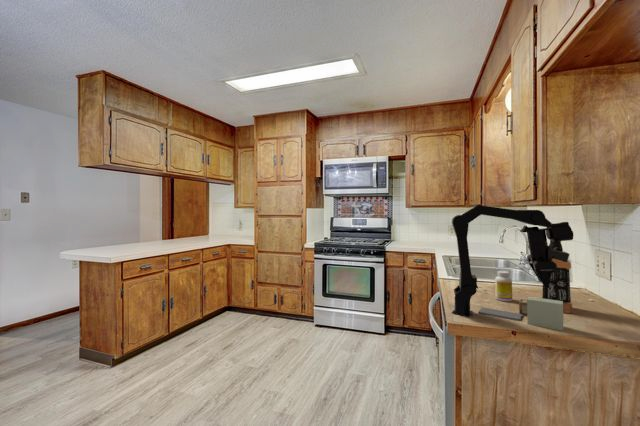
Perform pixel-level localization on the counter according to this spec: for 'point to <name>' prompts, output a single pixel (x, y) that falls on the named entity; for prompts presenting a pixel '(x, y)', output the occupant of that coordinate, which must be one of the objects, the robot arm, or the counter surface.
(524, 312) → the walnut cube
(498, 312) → the charcoal mat
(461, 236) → the robot arm
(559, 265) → the whiskey bottle
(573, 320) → the counter surface
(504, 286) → the supplement bottle
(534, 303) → the grey-green rectangular block
